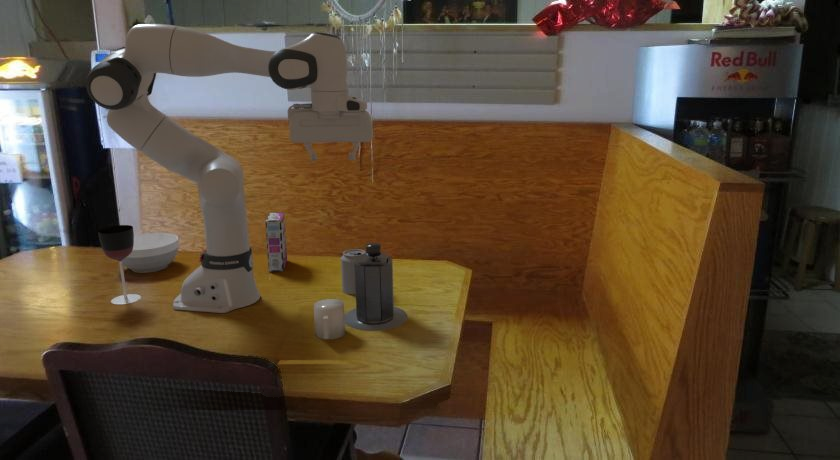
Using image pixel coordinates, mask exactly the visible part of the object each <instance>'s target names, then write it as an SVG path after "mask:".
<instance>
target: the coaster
mask: <svg viewBox="0 0 840 460" xmlns="http://www.w3.org/2000/svg"><path fill="white" fill-rule="evenodd" d="M344 317H345V326H348V327H350V328H351V329H355V330H360V331H366V332H367V331H368V332H375V331H376V332H379V331H386V330H390V329H394V328H398V327H400V326H401V325H403V324H404V323H405V322H406V321H407V319H408V314H407V312H406V311H404V310H403V309H401V308H400V307H398V306H394V318H393V319H392V320H391V321H390V322H387V323H384V324H379V325H369V324H364V323H361V322H359V321H358V320H357V312H356V307H355V308H353V309H351V310H349V311H347V312H345V313H344Z"/></svg>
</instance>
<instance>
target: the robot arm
mask: <svg viewBox="0 0 840 460" xmlns="http://www.w3.org/2000/svg"><path fill="white" fill-rule="evenodd" d="M124 45H125V46H123V47H119V48H117V49H116V50H115V51H113V52H110V53H109V54H107V55H105V56H104V57H103V58H102V59H101V60H100V62H99V63H98V64H96V65H94V66H93V67H92V68H91V70H90V71H89V73H88V75H87V77H86V82H85V89H86V91H87V94H88V96H89V97H90V99H91V100H92V101H93V102H94V103H95V104H96V105H97V106H99V107H101V108H103V109H107V110H108V111H107V113H106V122H107V125H108V126H109V128H110V129H111V130H112V131H113V132H115V134H116V135H118V137H120V138H121V139H122V140H124V142H125V143H127V144H129V145H130V146H131V147H132V148H134V149H135V150H137V151H138V152H140V153H141V154H143V155H144V156H146V157H148V158H149V159H151V161H154V162H155V163H157V164H158V165H160V166H161V167H163V168H165V169H166V170H168V171H170V172H173V173H176V174H177V175H179V176H181V177H183V178H185V179H187V180H189V181H191V182H193V183H195V184H196V185H197V193H198V198H199V204H200V205H199V206H200V211H201V216H202V222H203V229H204V237H205V249H203V251H202V253H201V254H200V255H199V257H198V262H199V263H200V264H201V265H199V266H198V267H197V268H196V269H194V270H193V271H192V272H191V273H190V274H189V275H188V276H187V277H186V278H185V279H184V280H183V282H182V285H181V290H180V293H179V294H178V295H177V296H176V297H175V299H174V300H173V303H172V307H173V309H174V310H176V311H179V310H180V311H192V312H201V313H202V312H206V313H215V314H216V313H218V314H219V313H220V314H225V313H229V312H230V311H233V310H237V309H240V308H243V307H244V308H245V307H247V306H250V305H253V304H255V303H256V302H257V301H259V300H260V298H261V294H260V292H259V290H258V289H259V288H258V286H257V283H256V280H255V275H254V270H253V268H254V256H253V252H252V247H251V246H250V236H249V235H250V234H249V223H248V214H247V207H246V206H247V205H246V204H247V203H246V196H245V195H246V194H245V185H244V179H245V178H244V170H243V166H242V165H241V164H240V162H239V161H238V160H237V159H236V158H234V157H233V156H231V155H229V154H228V153H227V152H224V151H223V150H222V149H220V148H218V147H217V146H215V145H213V144H212V143H209V142H208V141H206V140H204V139H203V138H201V137H199V136H198V135H196V134H194V132H192V131H190V130H188V129H187V128H185V127H184V126H183V125H181V124H180V123H178V122H177V121H175V120H174V119H173V118H171V117H169V116H168V115H166V114H165V113H164V112H162V111H160V110H159V109H157V108H156V107H155V106H154V105H153V104H152V103H151V102H150V100H149V99H148V96H150V95H151V94H152V93H153V88H154V84H155V82H156V81H155V80H156V76H157V74H158V73H159V74H167V75H173V76H180V77H187V78H188V77H191V78H192V77H193V78H194V77H195V78H197V77H198V78H201V77H210V76H211V77H212V76H217V75H223V74H230V73H231V74H233V73H235V74H236V73H238V74H246V75H253V76H259V77H260V76H261V77H266V78H270V79H271V80H272V83H274V84H275V85H276V86H277V87H279V88H282V89H283V90H288V91H293V90H294V91H295V90H299V89H300V90H301V89H305V88H308V87H310V98H311V99H310V100H311V101H310V103H293V104H292V105H290V106H289V107H288V109H287V119H288V122H289V132H288V133H289V140H290V141H291V142H292V143H294V144H295V143H304V148H305V150H306V151H307V153H308V154H309V157H310V159H309V160H310V161H311V162H317V161H318V152H314V151H313V149H312V148H311V147H312V146H313V143H352V147H354V148H353V151H352V152H349V153H348V161H353V162H354V161H356V152H357V150H358V149H359V147H360V143H370V142H371V141H372V140H373V139H374V128H373V120H372V117H371V114H370V113H369V112H368V111H367V109H368V102H367V101H366V100H363V99H361V98H358V97H355V96H351V95H350V94H349V87H348V84H347V75H348V60H347V52H346V46H345V42H344V41H343V40H342V38H340V37H339V36H338V35H334V34H331V33H327V32H326V33H325V32H320V31H316V32H311V33H310V34H309V35H308V36H307V37H305V38H304V39H302V40H300V41H298V42H296V43H295V44H292V45H289V46H286V47H283V48H281V49H279V50H277V51H272V50H265V49H260V48H259V49H258V48H251V47H246V46H240V45H237V44H233V43H231V42H228V41H226V40H223V39H221V38H219V37H216V36H213V35H211V34H209V33H206V32H204V31H200V30H197V29H193V28H189V27H185V26H180V25H173V24H165V23H164V24H163V23H139V24H136V25H134V26H131V28H130V29H129V30H128V32H127V34H126V37H125V42H124Z"/></svg>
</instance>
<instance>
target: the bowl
mask: <svg viewBox="0 0 840 460" xmlns="http://www.w3.org/2000/svg"><path fill="white" fill-rule="evenodd" d="M179 246H180V238H179V236H178V235H177V234H174V233H169V232H149V233H141V234H134V245H133V250H132V252H131V253H130V255H128V256H127V257H126V258H124V259H123V260H122V265H123V267H125V268H127V269H129V270H130V271H132V272H134V273H137V274H138V273H139V274H143V273H144V274H146V273H149V274H150V273H155V272H158V271H161V270H164V269H166V268H168V267H169V265H170V264H171V263H172V262H173V261H174V260H175V258H176V256H177V255H178V253H179Z"/></svg>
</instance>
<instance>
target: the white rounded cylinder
mask: <svg viewBox="0 0 840 460" xmlns="http://www.w3.org/2000/svg"><path fill="white" fill-rule="evenodd" d="M344 315H345V302H344V301H342V300H340V299H335V298H326V299H321V300H318V301H316V302H315V303H313V316H314V317H313V318H314V319H313V320H314V334H315V336H316V337H317V338H318V339H320V340H335V339H340V338H341V337H343V336H344V335H346V334H345V333H346V324H345V317H344Z"/></svg>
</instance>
